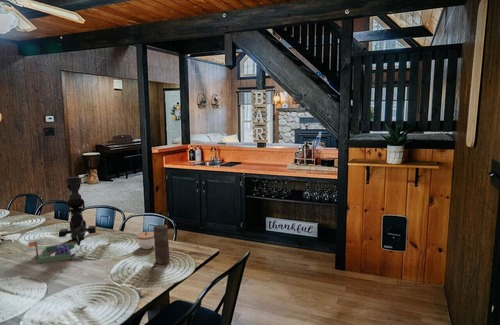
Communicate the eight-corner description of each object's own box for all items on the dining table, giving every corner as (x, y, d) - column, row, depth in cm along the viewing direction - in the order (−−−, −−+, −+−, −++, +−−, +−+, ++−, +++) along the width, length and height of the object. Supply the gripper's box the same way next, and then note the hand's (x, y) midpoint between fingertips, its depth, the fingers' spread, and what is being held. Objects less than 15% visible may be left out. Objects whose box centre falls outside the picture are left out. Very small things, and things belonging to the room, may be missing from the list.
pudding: (65, 249, 202) (65, 240, 201) (79, 253, 196) (78, 244, 196) (45, 257, 191) (45, 248, 191) (59, 261, 186) (59, 251, 185)
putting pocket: (74, 246, 205) (73, 232, 204) (71, 258, 188) (69, 242, 187) (33, 252, 197) (31, 237, 196) (26, 264, 181) (24, 248, 179)
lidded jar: (158, 244, 208) (158, 229, 207) (152, 251, 198) (151, 235, 197) (141, 243, 209) (140, 228, 208) (134, 250, 199) (133, 234, 198)
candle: (152, 262, 182) (150, 226, 179) (161, 257, 189) (160, 222, 186) (163, 265, 179) (161, 228, 176) (172, 260, 185) (171, 224, 182)
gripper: (56, 225, 184) (58, 253, 186) (94, 221, 191) (96, 248, 193) (59, 219, 194) (61, 246, 197) (95, 215, 201) (97, 241, 203)
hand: (79, 245), depth 197 cm, fingers closed
